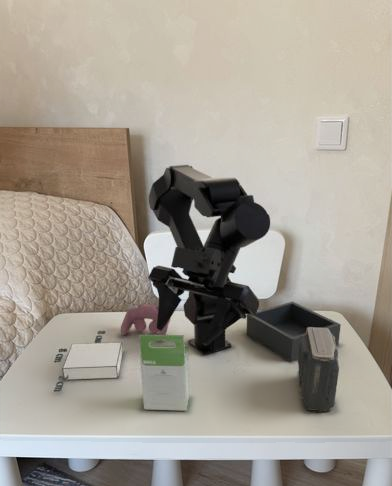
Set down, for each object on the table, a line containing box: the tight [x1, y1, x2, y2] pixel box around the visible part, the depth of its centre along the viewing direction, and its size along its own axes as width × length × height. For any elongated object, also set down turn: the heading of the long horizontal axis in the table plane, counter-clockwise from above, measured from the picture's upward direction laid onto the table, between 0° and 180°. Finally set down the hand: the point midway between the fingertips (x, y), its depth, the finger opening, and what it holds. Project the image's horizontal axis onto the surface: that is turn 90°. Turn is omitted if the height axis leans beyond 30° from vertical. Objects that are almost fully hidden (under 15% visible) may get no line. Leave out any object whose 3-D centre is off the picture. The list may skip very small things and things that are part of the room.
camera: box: [297, 327, 340, 413], centre depth 84 cm, size 11×6×10 cm, turn 172°
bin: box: [246, 301, 341, 363], centre depth 103 cm, size 14×12×5 cm
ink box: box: [138, 334, 190, 412], centre depth 81 cm, size 7×4×13 cm, turn 84°
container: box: [53, 330, 124, 392], centre depth 95 cm, size 20×12×3 cm, turn 2°
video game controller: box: [120, 303, 171, 336], centre depth 107 cm, size 10×5×7 cm, turn 71°
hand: (180, 336), depth 82 cm, fingers open, 9 cm apart
